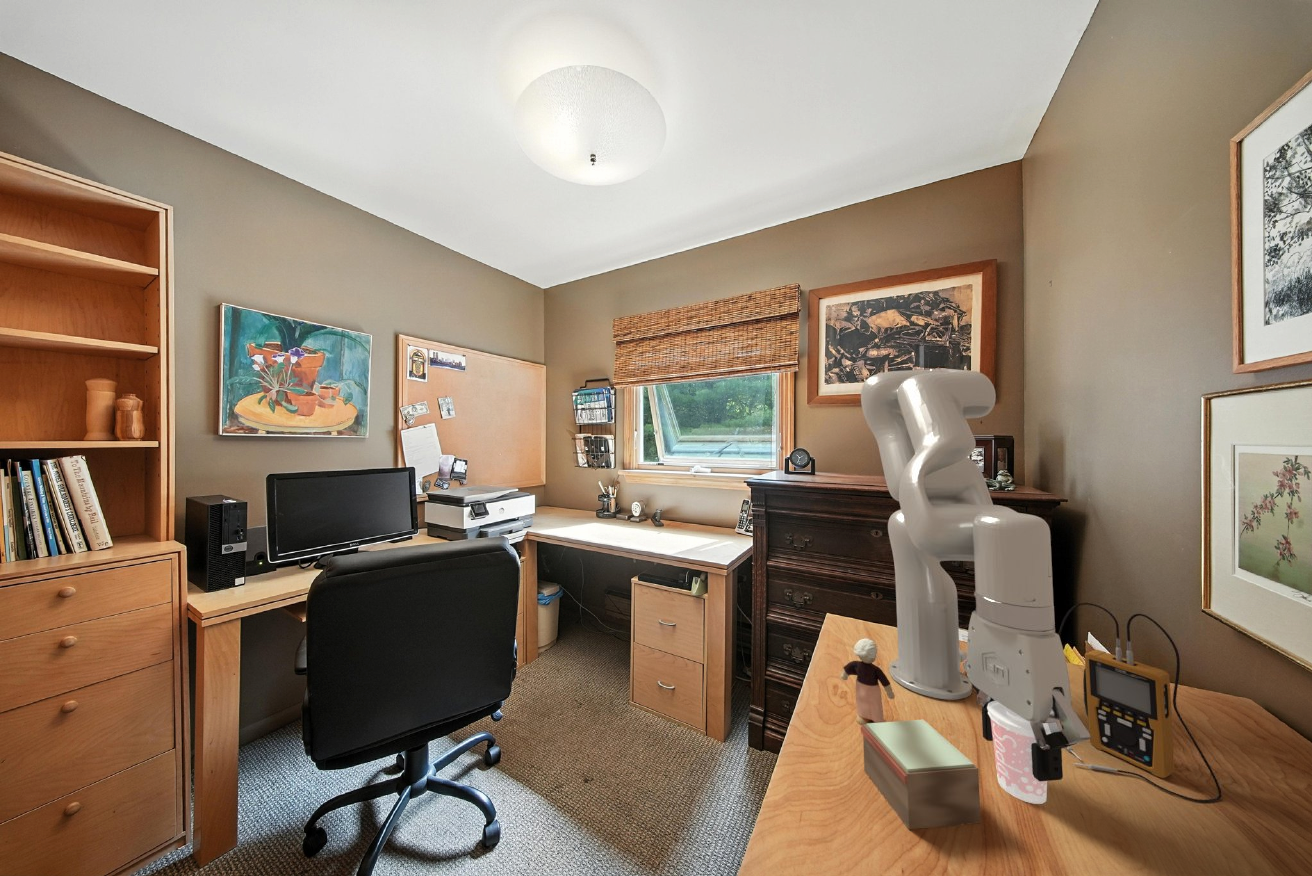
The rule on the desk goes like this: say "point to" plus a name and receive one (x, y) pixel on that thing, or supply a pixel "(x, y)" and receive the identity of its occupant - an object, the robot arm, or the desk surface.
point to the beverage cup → (1015, 754)
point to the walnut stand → (921, 774)
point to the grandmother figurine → (868, 683)
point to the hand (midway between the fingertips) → (1020, 756)
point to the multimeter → (1132, 709)
